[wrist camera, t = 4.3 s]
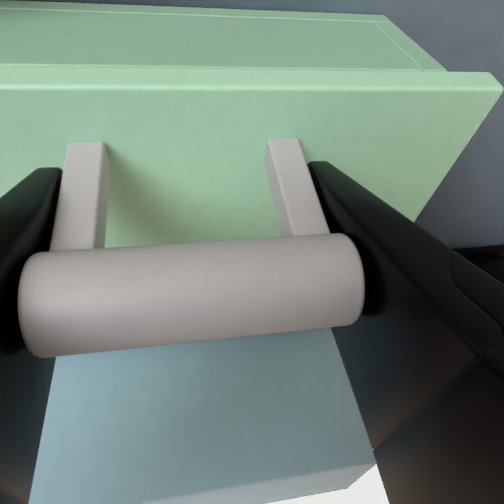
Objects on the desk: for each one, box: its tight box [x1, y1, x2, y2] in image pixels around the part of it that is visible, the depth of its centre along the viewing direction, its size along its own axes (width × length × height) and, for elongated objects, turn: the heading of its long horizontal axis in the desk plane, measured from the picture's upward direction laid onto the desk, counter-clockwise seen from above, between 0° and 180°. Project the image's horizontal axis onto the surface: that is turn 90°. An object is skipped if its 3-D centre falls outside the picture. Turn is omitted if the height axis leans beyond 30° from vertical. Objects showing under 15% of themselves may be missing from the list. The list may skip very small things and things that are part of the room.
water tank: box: [28, 327, 376, 504], centre depth 18 cm, size 12×4×10 cm, turn 85°
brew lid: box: [0, 66, 504, 358], centre depth 10 cm, size 11×13×5 cm
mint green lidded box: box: [0, 0, 447, 72], centre depth 14 cm, size 10×13×4 cm
